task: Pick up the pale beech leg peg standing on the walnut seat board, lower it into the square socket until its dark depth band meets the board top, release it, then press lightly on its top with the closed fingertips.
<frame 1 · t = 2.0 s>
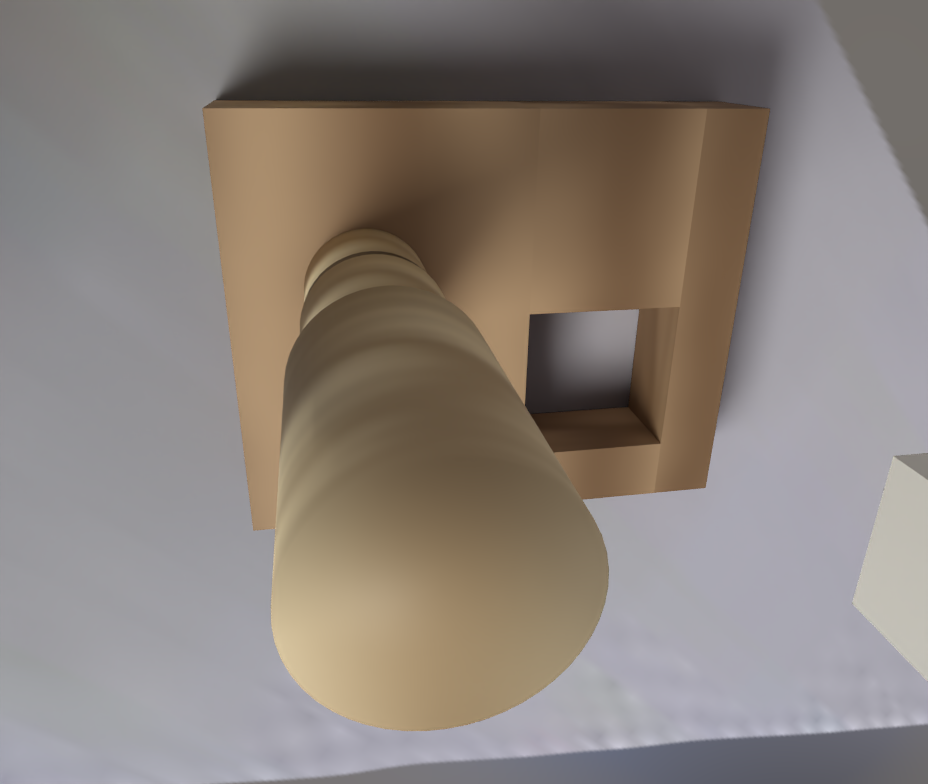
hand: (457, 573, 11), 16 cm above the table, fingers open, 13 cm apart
seat board: (478, 301, 26), on the table
leg peg: (366, 289, 22), point 3 cm above the table, touching seat board
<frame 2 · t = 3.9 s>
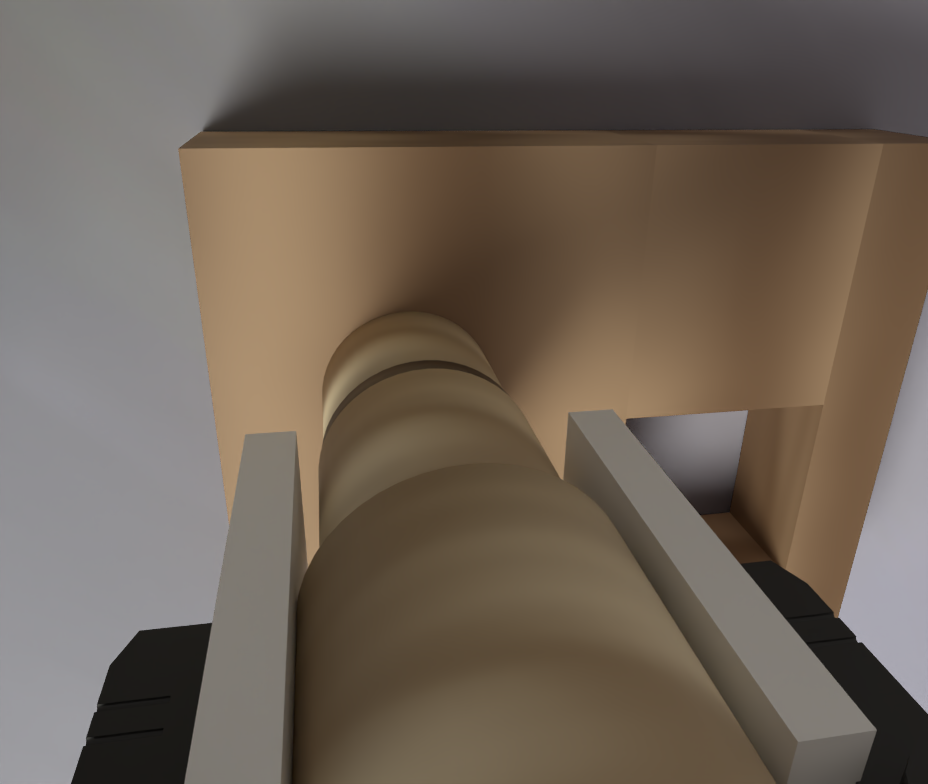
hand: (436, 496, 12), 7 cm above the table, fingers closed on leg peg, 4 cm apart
seat board: (546, 388, 20), on the table
leg peg: (408, 392, 16), point 3 cm above the table, touching gripper, seat board
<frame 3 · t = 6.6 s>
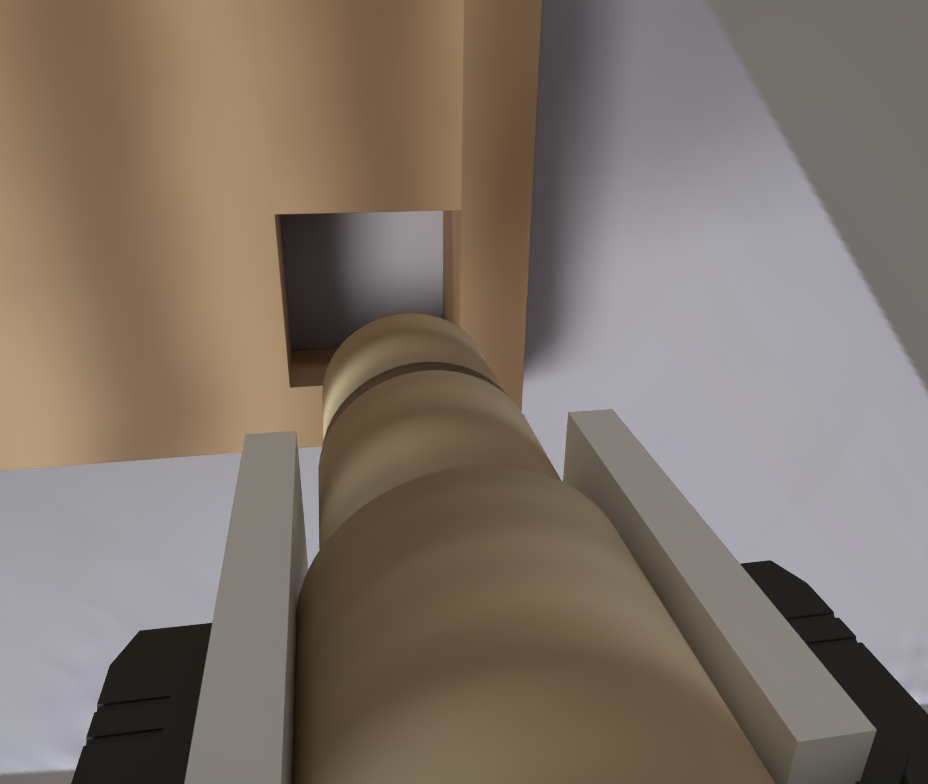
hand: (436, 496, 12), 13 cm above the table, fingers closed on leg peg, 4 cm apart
seat board: (245, 211, 23), on the table
leg peg: (408, 393, 16), point 9 cm above the table, touching gripper
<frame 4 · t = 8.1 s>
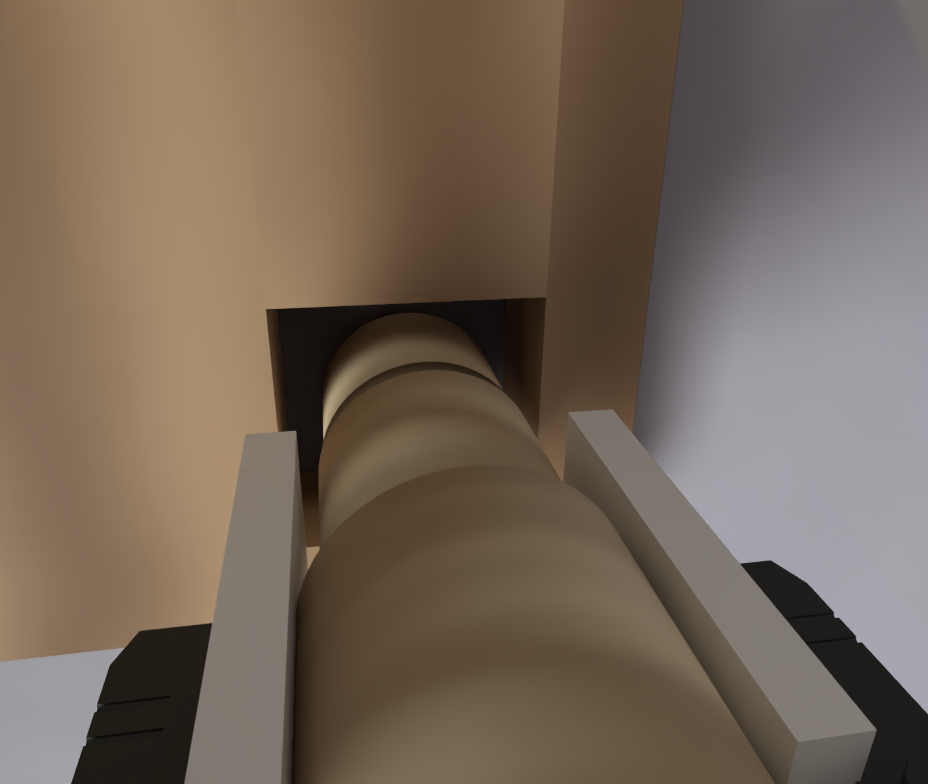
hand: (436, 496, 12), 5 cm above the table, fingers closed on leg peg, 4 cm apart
seat board: (225, 289, 16), on the table
leg peg: (408, 393, 16), point 1 cm above the table, touching gripper
when the fingers open (5 cm above the table, at t = 9.2 s): leg peg stays where it is, resting in seat board.
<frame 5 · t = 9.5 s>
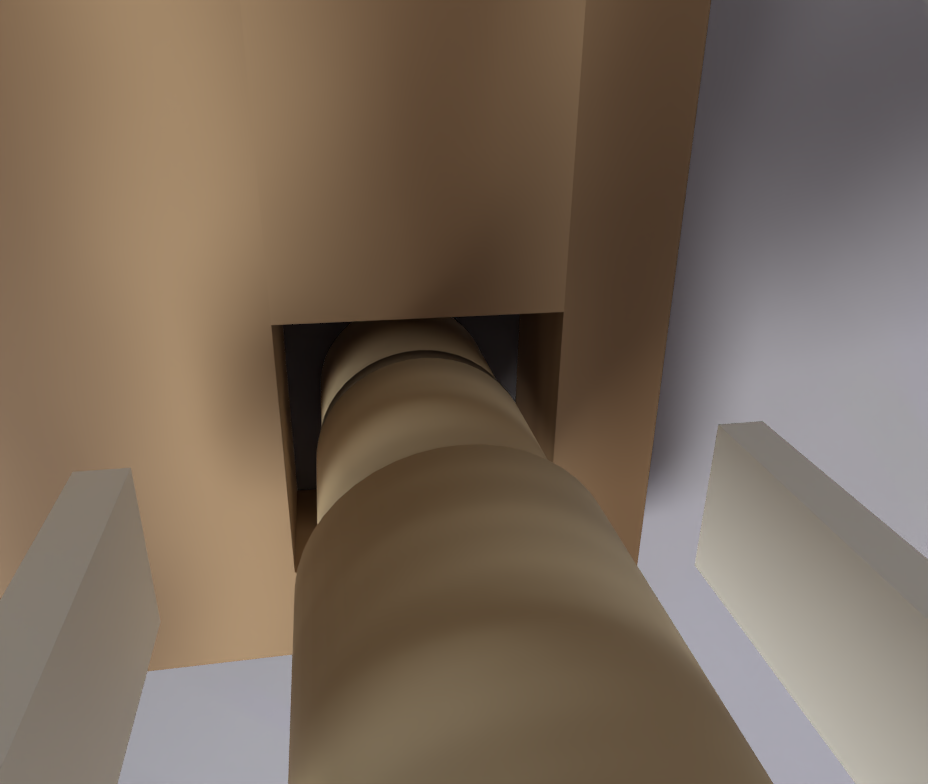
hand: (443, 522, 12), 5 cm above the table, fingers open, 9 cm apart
seat board: (229, 301, 15), on the table
leg peg: (404, 383, 17), resting in seat board
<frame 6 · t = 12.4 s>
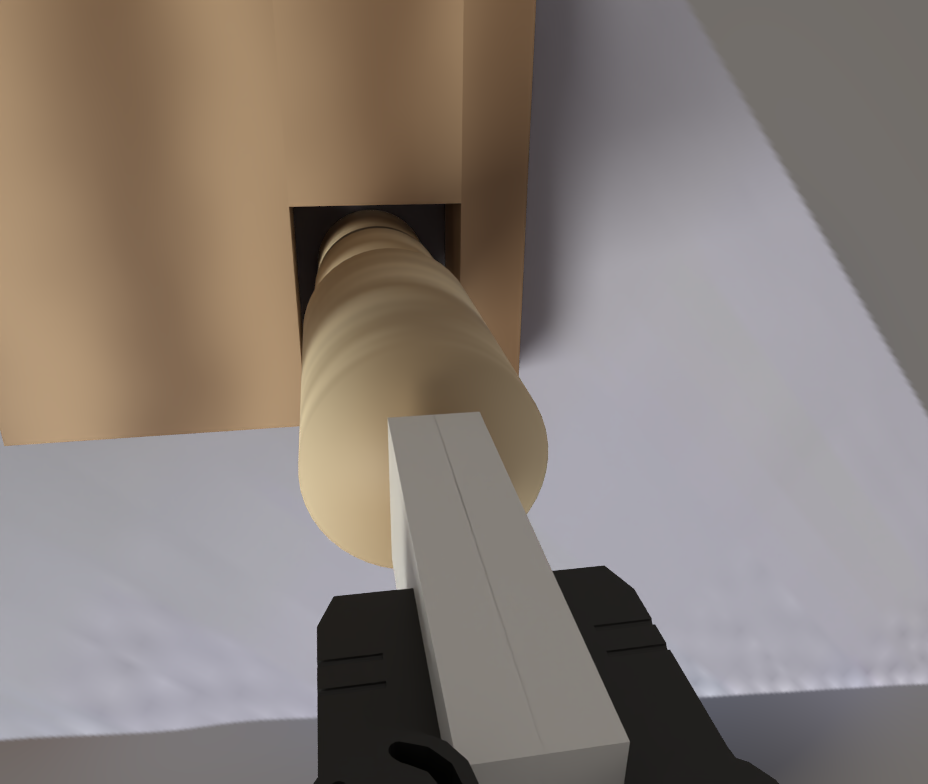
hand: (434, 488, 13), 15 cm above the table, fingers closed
seat board: (260, 205, 24), on the table
leg peg: (371, 263, 26), resting in seat board
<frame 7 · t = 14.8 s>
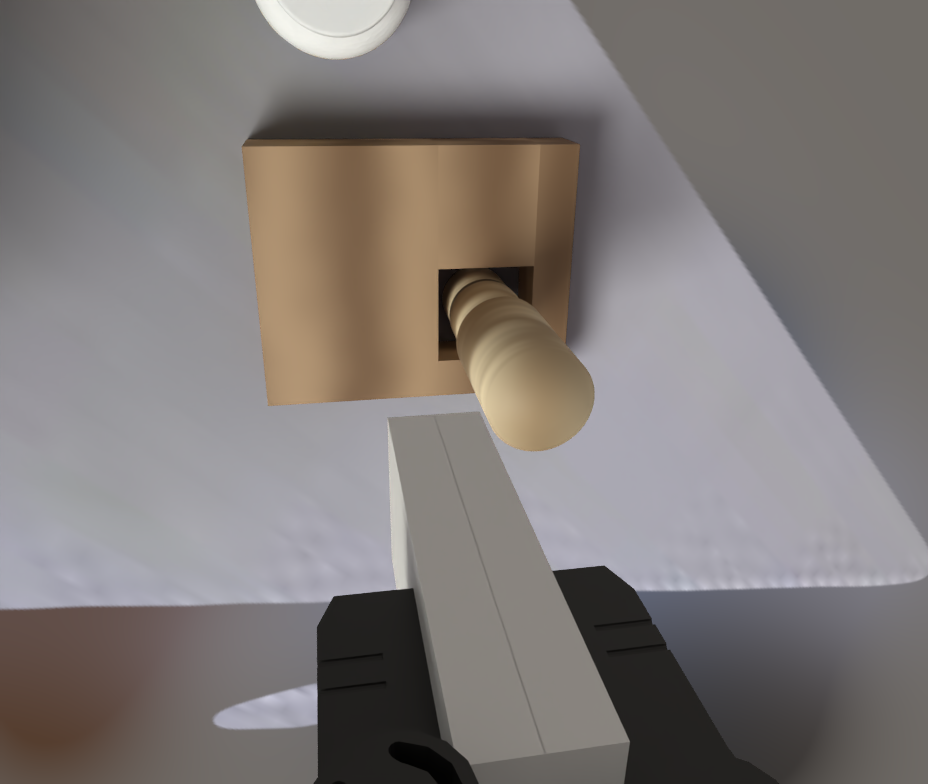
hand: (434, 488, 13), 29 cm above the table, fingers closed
seat board: (411, 264, 41), on the table
leg peg: (473, 297, 43), resting in seat board
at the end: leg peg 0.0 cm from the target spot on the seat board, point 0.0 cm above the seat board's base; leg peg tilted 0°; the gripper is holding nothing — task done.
